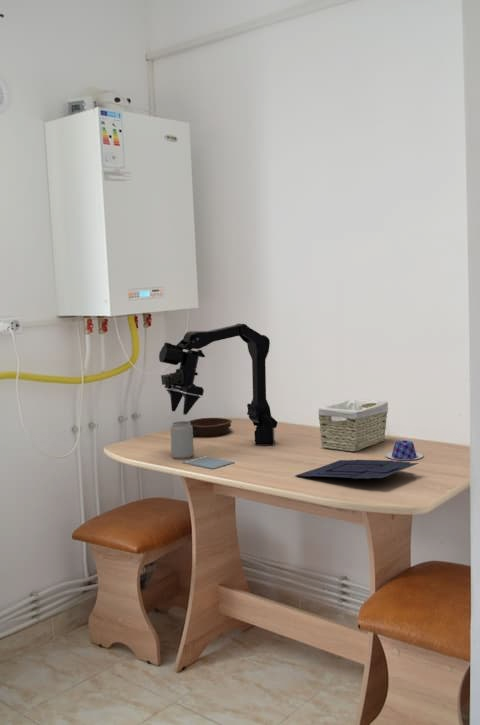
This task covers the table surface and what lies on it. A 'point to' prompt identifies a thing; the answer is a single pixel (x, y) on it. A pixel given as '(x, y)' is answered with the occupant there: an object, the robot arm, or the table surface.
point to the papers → (359, 469)
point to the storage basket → (353, 424)
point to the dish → (210, 426)
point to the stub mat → (208, 462)
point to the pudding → (404, 451)
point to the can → (182, 440)
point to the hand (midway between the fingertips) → (178, 412)
